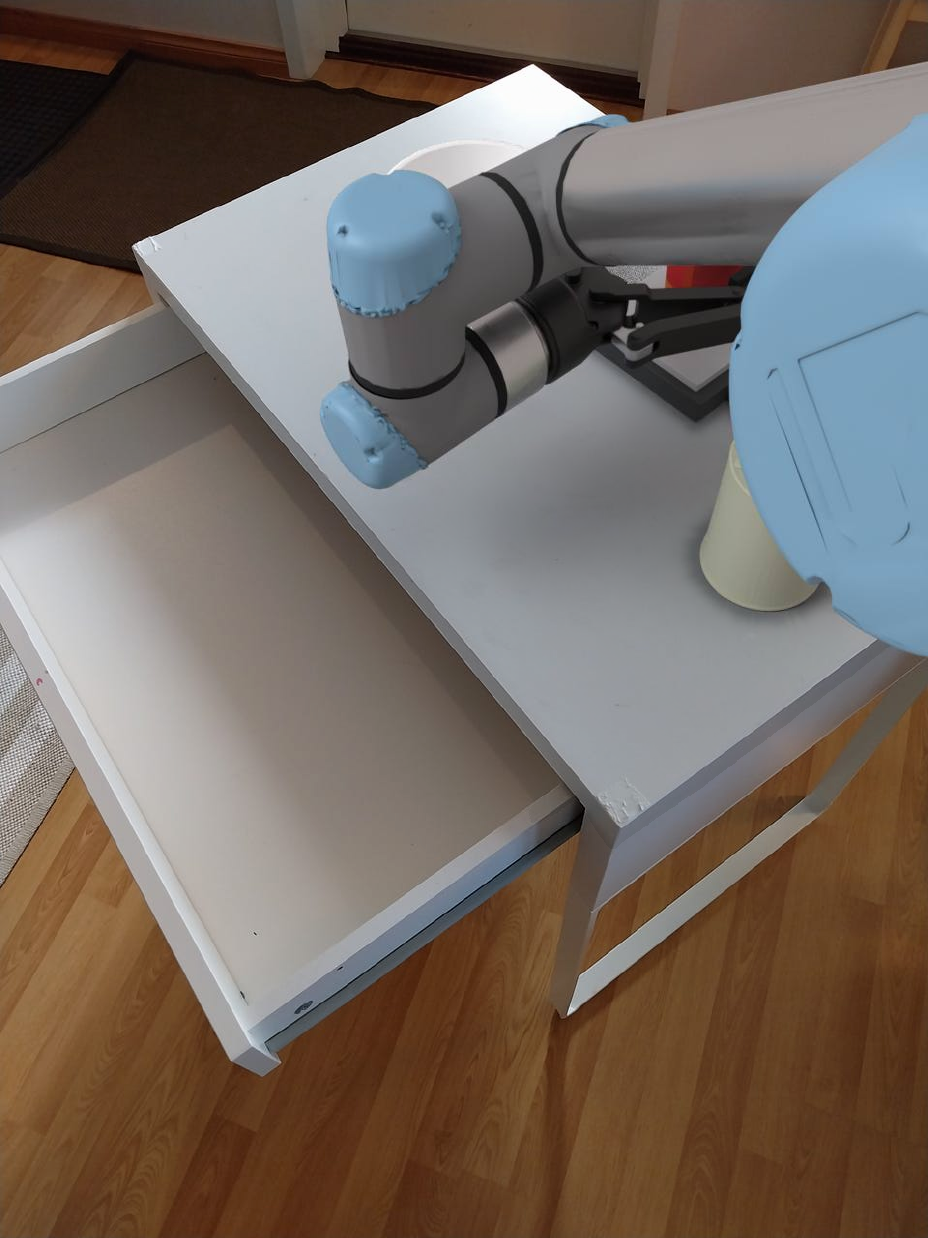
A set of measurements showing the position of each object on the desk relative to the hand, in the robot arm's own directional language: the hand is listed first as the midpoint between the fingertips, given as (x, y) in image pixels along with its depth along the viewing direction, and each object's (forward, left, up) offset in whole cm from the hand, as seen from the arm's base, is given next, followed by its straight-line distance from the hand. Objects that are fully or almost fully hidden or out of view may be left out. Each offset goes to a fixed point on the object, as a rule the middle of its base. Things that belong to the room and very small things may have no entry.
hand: (720, 213), depth 74 cm
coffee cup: (0, 0, -10) cm, 10 cm away
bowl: (+21, +8, -13) cm, 26 cm away
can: (-20, +14, -13) cm, 28 cm away
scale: (0, 0, -13) cm, 13 cm away
